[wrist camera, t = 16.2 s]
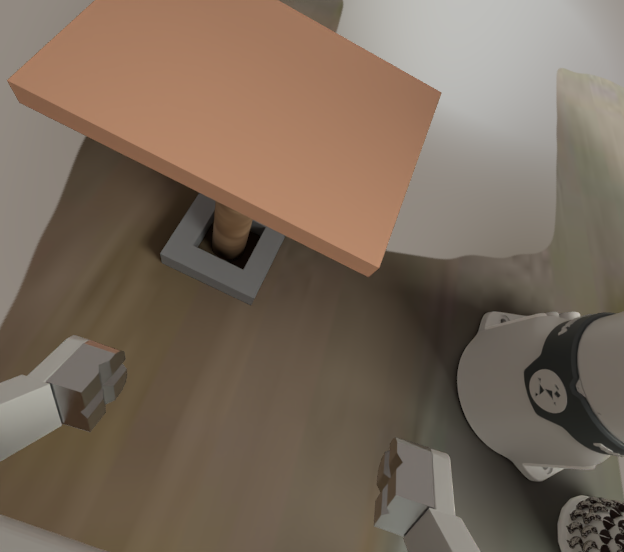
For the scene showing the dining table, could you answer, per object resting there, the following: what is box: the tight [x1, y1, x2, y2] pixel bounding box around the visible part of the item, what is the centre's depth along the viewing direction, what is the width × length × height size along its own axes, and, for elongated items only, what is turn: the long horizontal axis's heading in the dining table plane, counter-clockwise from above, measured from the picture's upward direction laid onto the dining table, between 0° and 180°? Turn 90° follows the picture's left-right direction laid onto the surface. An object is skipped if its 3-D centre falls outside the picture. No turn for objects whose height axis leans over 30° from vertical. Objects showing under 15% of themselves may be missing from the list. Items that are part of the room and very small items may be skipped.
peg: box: [212, 201, 253, 261], centre depth 37 cm, size 4×4×12 cm
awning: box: [7, 0, 441, 305], centre depth 33 cm, size 15×21×22 cm
